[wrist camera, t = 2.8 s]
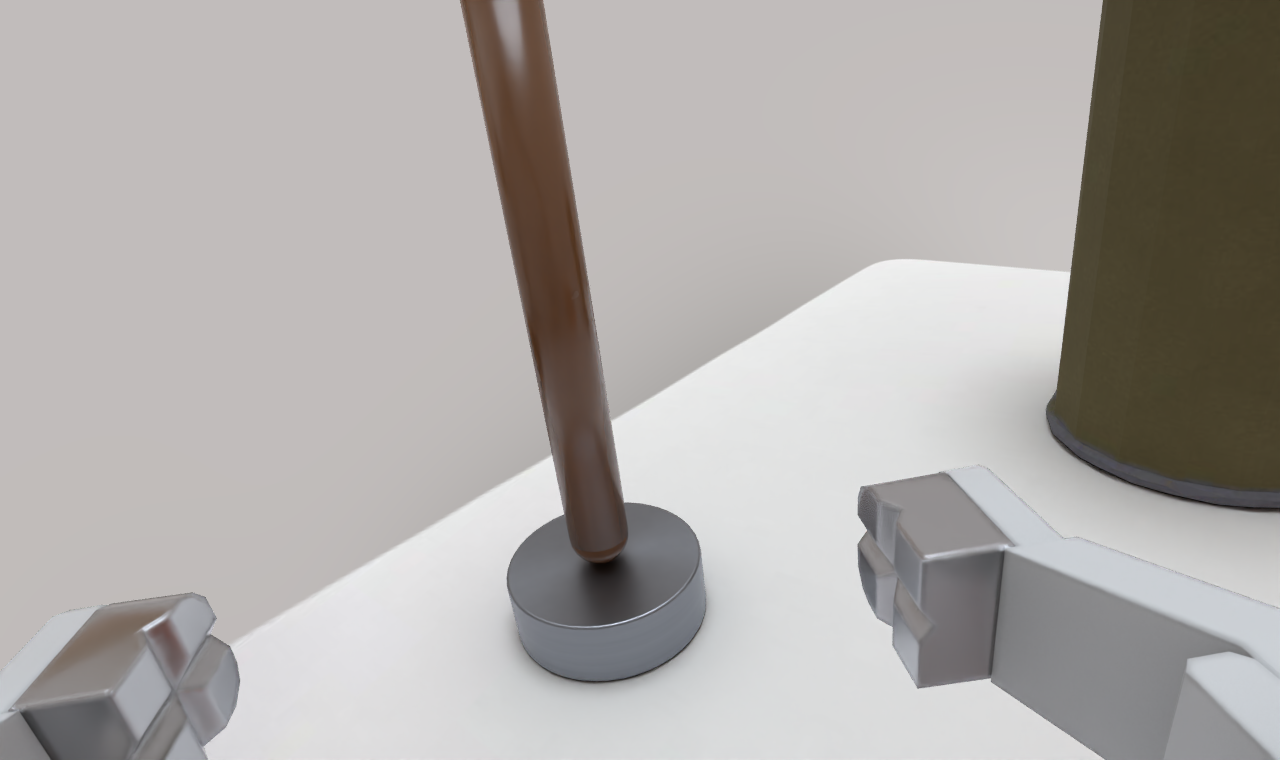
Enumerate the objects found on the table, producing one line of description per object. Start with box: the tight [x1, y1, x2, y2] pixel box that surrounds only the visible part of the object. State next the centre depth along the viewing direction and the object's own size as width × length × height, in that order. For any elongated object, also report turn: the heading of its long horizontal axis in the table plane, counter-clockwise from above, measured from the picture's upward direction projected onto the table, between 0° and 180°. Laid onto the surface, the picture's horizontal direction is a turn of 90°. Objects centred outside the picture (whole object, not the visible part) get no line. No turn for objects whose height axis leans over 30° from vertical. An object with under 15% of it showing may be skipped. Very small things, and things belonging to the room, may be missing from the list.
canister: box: [1046, 0, 1280, 508], centre depth 23 cm, size 11×10×20 cm
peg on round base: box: [460, 0, 706, 681], centre depth 19 cm, size 6×6×19 cm
